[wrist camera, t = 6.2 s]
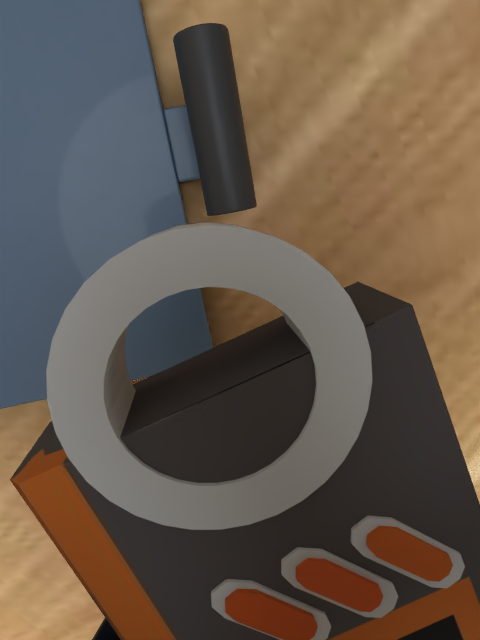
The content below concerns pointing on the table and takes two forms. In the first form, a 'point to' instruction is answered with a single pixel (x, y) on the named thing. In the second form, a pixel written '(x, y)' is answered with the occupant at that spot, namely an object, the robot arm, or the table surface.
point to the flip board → (104, 171)
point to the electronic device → (256, 459)
